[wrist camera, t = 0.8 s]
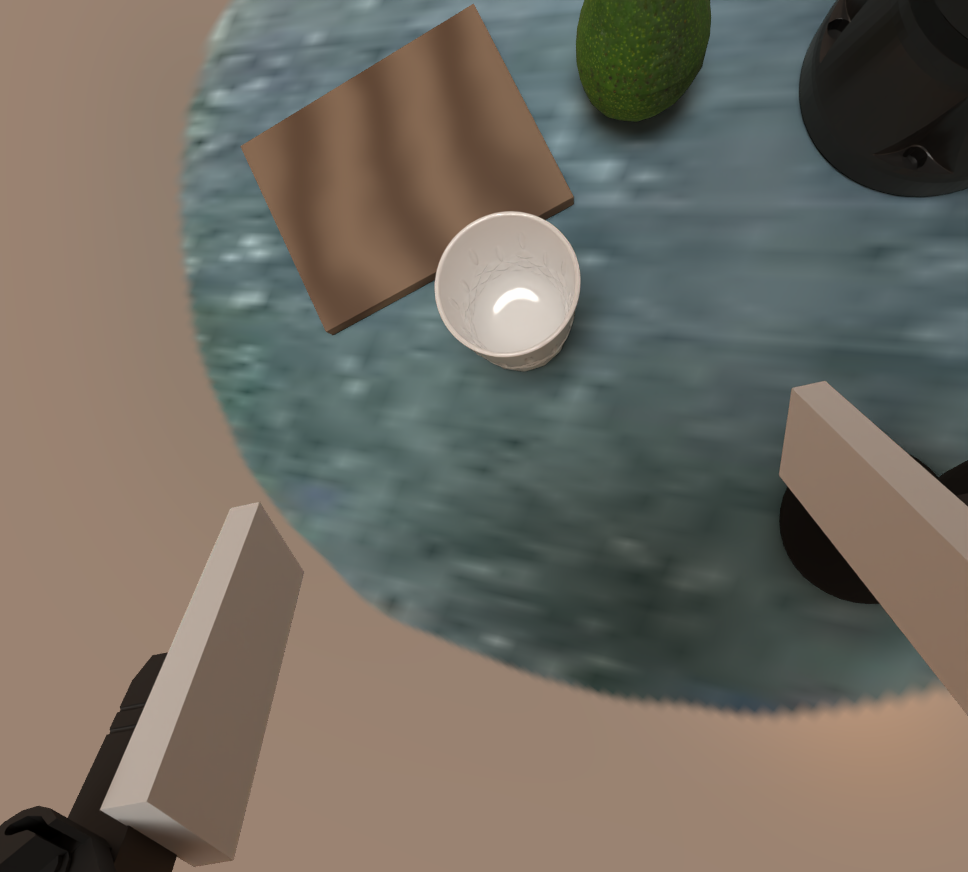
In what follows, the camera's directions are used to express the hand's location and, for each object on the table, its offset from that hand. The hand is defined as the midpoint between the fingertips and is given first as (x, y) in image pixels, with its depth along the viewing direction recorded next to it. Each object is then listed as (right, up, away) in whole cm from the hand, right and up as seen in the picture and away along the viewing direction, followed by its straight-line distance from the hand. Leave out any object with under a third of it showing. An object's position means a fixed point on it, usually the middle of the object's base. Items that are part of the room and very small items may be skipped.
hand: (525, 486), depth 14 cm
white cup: (+2, +9, +26) cm, 27 cm away
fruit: (+9, +25, +25) cm, 37 cm away
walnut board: (-7, +20, +27) cm, 35 cm away
